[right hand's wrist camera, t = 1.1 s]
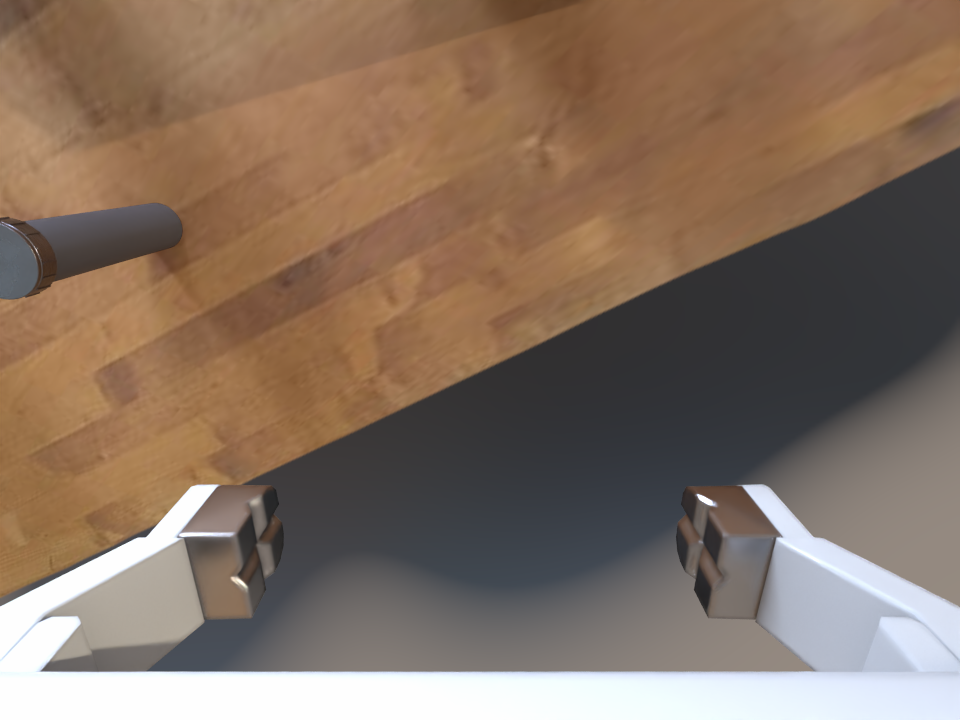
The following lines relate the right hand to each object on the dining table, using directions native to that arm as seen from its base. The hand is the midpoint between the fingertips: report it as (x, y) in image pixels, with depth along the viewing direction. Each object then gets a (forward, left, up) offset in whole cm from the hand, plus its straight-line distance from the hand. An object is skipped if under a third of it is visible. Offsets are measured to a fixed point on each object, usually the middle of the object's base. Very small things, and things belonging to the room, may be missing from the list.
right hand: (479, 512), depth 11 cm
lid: (0, -34, -28) cm, 44 cm away
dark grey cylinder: (0, -34, -48) cm, 59 cm away
